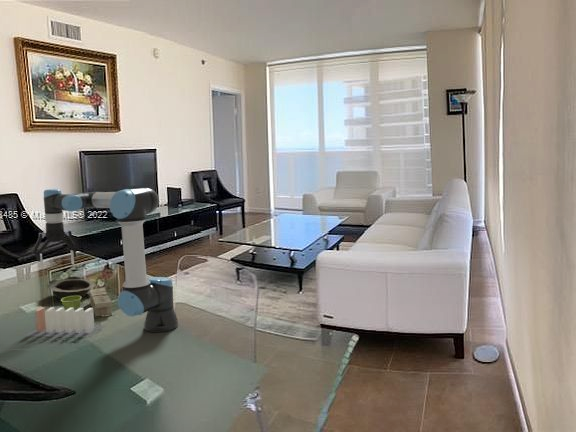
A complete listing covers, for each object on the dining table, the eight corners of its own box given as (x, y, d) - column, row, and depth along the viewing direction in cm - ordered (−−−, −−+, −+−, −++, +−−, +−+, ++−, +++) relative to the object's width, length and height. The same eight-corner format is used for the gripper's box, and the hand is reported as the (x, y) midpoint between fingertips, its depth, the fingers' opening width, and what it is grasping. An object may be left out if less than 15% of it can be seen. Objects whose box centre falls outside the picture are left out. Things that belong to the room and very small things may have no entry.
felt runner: (105, 326, 219) (105, 325, 219) (90, 338, 205) (90, 337, 205) (42, 325, 221) (42, 324, 221) (24, 337, 207) (24, 336, 207)
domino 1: (46, 328, 216) (45, 307, 215) (40, 332, 211) (38, 310, 210) (43, 328, 216) (41, 307, 215) (36, 332, 211) (34, 310, 210)
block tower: (90, 305, 254) (95, 319, 229) (88, 289, 253) (94, 302, 228) (105, 302, 258) (112, 316, 232) (104, 287, 257) (111, 300, 231)
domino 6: (94, 329, 215) (93, 307, 213) (89, 333, 210) (87, 311, 208) (90, 328, 215) (89, 307, 213) (85, 333, 210) (83, 311, 208)
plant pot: (77, 318, 230) (76, 301, 229) (58, 318, 230) (57, 301, 229) (86, 312, 239) (84, 295, 238) (67, 312, 240) (66, 295, 238)
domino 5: (84, 328, 215) (83, 307, 214) (79, 333, 210) (78, 311, 209) (81, 328, 215) (79, 307, 214) (75, 332, 210) (74, 311, 209)
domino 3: (65, 328, 215) (64, 307, 214) (60, 332, 210) (58, 311, 209) (62, 328, 216) (60, 307, 214) (56, 332, 211) (54, 311, 209)
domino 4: (75, 328, 215) (73, 307, 214) (69, 332, 210) (68, 311, 209) (71, 328, 215) (70, 307, 214) (65, 332, 210) (64, 311, 209)
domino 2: (56, 328, 216) (54, 307, 214) (50, 332, 211) (48, 311, 209) (52, 328, 216) (50, 307, 215) (46, 332, 211) (44, 311, 210)
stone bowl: (47, 293, 272) (48, 277, 272) (94, 290, 283) (94, 275, 282) (46, 304, 250) (46, 287, 249) (96, 301, 261) (97, 285, 260)
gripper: (80, 218, 233) (83, 260, 235) (23, 223, 218) (27, 267, 221) (84, 220, 226) (86, 263, 229) (25, 225, 212) (29, 271, 215)
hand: (57, 265), depth 225 cm, fingers open, 13 cm apart
